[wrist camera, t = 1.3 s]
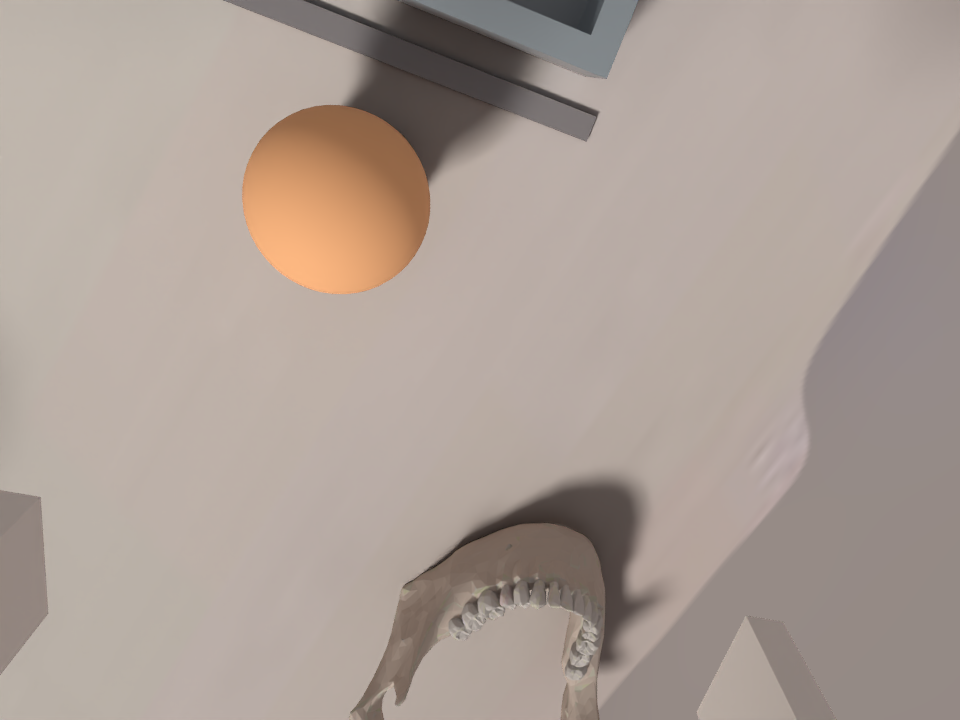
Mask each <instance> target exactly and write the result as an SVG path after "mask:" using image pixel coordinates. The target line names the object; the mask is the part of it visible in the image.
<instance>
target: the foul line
mask: <svg viewBox="0 0 960 720" xmlns="http://www.w3.org/2000/svg"><path fill="white" fill-rule="evenodd" d="M224 1H227V2H230V3H232V4H235V5H237V6H240V7H242V8H245V9H248V10H250V11H253V12H255V13H258V14H260V15H263V16H266V17H268V18H271V19H273V20H276V21H278V22H281V23H283V24H286V25H289V26H291V27H294V28H296V29H299V30H301V31H304V32H307V33H309V34H312V35H314V36H317V37H319V38H322V39H325V40H327V41H330V42H332V43H335V44H337V45H340V46H343V47H345V48H348V49H350V50H353V51H355V52H358V53H360V54H363V55H366V56H368V57H371V58H373V59H376V60H378V61H381V62H384V63H386V64H389V65H391V66H394V67H396V68H399V69H402V70H404V71H407V72H409V73H412V74H414V75H417V76H419V77H422V78H425V79H427V80H430V81H432V82H435V83H437V84H440V85H443V86H445V87H448V88H450V89H453V90H455V91H458V92H461V93H463V94H466V95H468V96H471V97H473V98H476V99H479V100H481V101H484V102H486V103H489V104H491V105H494V106H496V107H499V108H502V109H504V110H507V111H509V112H512V113H514V114H517V115H520V116H522V117H525V118H527V119H530V120H532V121H535V122H538V123H540V124H543V125H545V126H548V127H550V128H553V129H555V130H558V131H561V132H563V133H566V134H568V135H571V136H573V137H576V138H579V139H581V140H584V141H586V142H587V139H588V137H589V134H590V132H591V129H592V127H593V124H594V122H595V120H596V116H593V115H591V114H588V113H586V112H583V111H581V110H578V109H576V108H573V107H571V106H568V105H566V104H563V103H561V102H558V101H556V100H553V99H551V98H548V97H546V96H543V95H541V94H538V93H535V92H533V91H530V90H528V89H525V88H523V87H520V86H518V85H515V84H513V83H510V82H508V81H505V80H503V79H500V78H498V77H495V76H493V75H490V74H488V73H485V72H483V71H480V70H478V69H475V68H472V67H470V66H467V65H465V64H462V63H460V62H457V61H455V60H452V59H450V58H447V57H445V56H442V55H440V54H437V53H435V52H432V51H430V50H427V49H425V48H422V47H420V46H417V45H414V44H412V43H409V42H407V41H404V40H402V39H399V38H397V37H394V36H392V35H389V34H387V33H384V32H382V31H379V30H377V29H374V28H372V27H369V26H367V25H364V24H362V23H359V22H357V21H354V20H351V19H349V18H346V17H344V16H341V15H339V14H336V13H334V12H331V11H329V10H326V9H324V8H321V7H319V6H316V5H314V4H311V3H309V2H306V1H304V0H224Z"/></svg>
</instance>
